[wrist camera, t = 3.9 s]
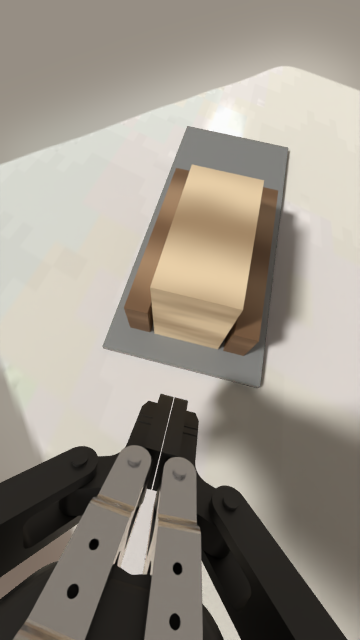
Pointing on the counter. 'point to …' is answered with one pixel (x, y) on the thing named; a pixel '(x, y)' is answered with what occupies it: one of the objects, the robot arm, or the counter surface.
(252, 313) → the chute rails
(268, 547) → the robot arm
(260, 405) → the counter surface
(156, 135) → the counter surface
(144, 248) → the chute board
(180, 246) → the oak block
